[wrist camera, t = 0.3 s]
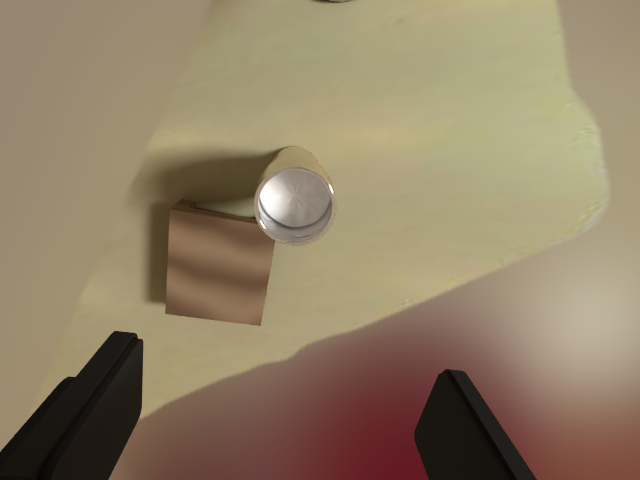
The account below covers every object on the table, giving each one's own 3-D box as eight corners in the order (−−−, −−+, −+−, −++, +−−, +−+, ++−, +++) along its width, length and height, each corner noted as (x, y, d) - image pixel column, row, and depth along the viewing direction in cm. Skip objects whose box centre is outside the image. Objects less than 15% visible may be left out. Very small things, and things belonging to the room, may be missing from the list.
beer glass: (301, 210, 41) (305, 263, 28) (254, 178, 39) (233, 217, 26) (334, 166, 40) (356, 198, 26) (287, 129, 38) (284, 144, 24)
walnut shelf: (181, 199, 40) (169, 209, 36) (278, 216, 42) (277, 227, 38) (175, 296, 45) (165, 313, 41) (263, 308, 47) (260, 325, 43)
